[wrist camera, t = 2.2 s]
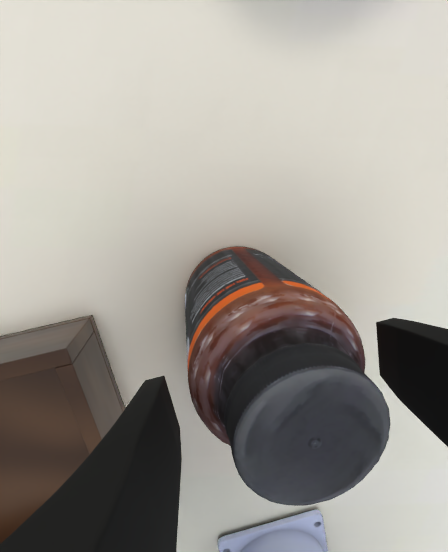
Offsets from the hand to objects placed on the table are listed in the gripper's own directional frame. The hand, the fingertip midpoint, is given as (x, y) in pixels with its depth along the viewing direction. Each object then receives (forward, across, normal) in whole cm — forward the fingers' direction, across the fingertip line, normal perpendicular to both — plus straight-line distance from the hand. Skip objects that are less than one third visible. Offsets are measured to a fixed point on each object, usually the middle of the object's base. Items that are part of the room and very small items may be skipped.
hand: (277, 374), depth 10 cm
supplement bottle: (+9, 0, 0) cm, 9 cm away
